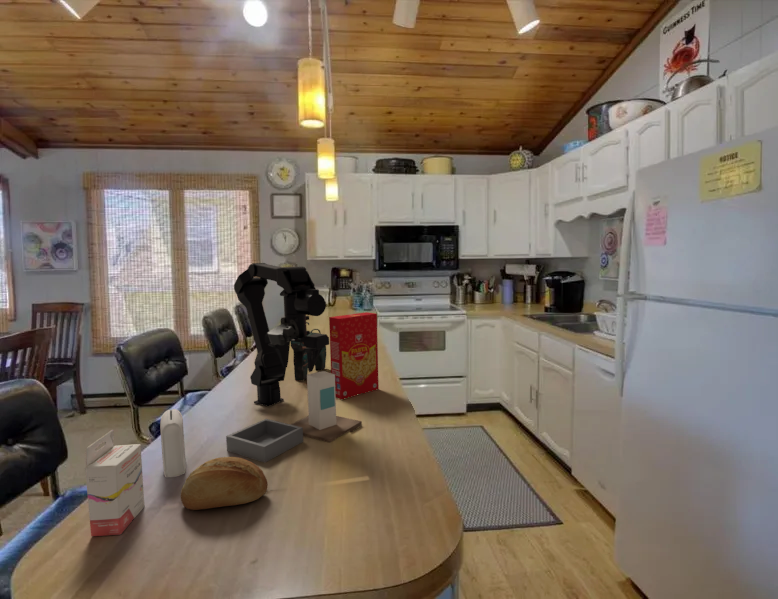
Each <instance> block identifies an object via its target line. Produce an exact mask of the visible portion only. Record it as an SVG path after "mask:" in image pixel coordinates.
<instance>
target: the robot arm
mask: <svg viewBox="0 0 778 599" xmlns="http://www.w3.org/2000/svg"><path fill="white" fill-rule="evenodd" d="M268 280H269V281H273V282H276V285H277V286H278V287H280V288H282V290H281V291H280V293H279V296H280V297H283V310H284V311H283V313H284V316H283V317H281V318H280V324H278V325H277V326H275V327H274V328H272V329H270V327H269V324H268V320H267V317H266V312H265V309H264V305H263V300H264V298H265V295H266V291H265V289H266V287H267V285H268ZM233 290H234V293H235V294H236V296H237V299H238V301H239V302H240V303H241V304H242V305H243V306H244V307H245V309H246V312H247V317H248V320H249V324H250V329H251V333H252V336H253V340H254V344H255V347H256V348H255V349H256V352H257V353H256V357H255V359H254V362H253V363H254V369H253V371H252V373H251V375H250V378H249V379H250V382H251V385H253V386H256V390H257V400H254V401H253V404H255V405H260V406H263V407H271V406H274V405H276V404H279V403H281V402H283V401H285V399H284V398H282V397H281V387H280V382H284V381H285V377H286V371H287V368H288V364H289V359H290V358H289V357H290V356H289V355H290V347H291V341H292V342H301V343H304V345H305V346H306V347H307V348H303V349H304V350H305V352H306V353H307V363H308V373H311V372H313V370H314V368H315V363H316V361H317V358H318V356H319V354H320V352H321V350H322V349H323V348H325V347H326V348H327V346H328V345H329V346H330V336H328V335H327V334H325V333H321V334H320V333H319V334H313V335H309V334H310V332H311V330H308V329H307V328H308V327H307V323H306V322H307V321H310V316H312V317H319V316H321V315H323V313H324V312H325V311H326V307H327V302H326V300H325V298H324V296H323V295H322V294H320V290H319V289H318V288H316V287H315V283H314V282H313V280H312V278H311V275H310V273H309V272H308V271H307V268H306V267H305V266H302V265H301V266H283V267H282V266H278V265H277V266H276V265H273V264H269V263H267V262H266V263H265V262H252V263H250V264H249V266H248V268H247V269H245V270H244V271H243V272H241V273H240V274H239V275H238V276H237V278H236V280H235V282H234V285H233ZM307 335H309V336H307Z"/></svg>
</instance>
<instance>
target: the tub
mask: <svg viewBox="0 0 778 599" xmlns="http://www.w3.org/2000/svg"><path fill="white" fill-rule="evenodd" d="M290 424H291V423H285V422H282V421H278V420H273V419H269V418H265V419H261V420H260V421H257V422H256V423H252V424H251V425H249V426H246V427H243V428H242V429H239V430H237V431H235V432H232V433H230V434H227V435H226V436H225V439H226V440H225V441H226V451H227V452H229V453H232V454H235V455H238V456H239V455H240V456H242V457H246V458H249V459H252V460H255V461H258V462H262V463H268V462H269V461H270V460H272V459H275V458H276V457H278V456H280V455H282V454H284V453H286V452H288V451H289V450H291V449H293V448H295V447H297V446H299V445H300V444H302V443H303V442H304V436H303V427H298V426H294V425H290Z"/></svg>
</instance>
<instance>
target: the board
mask: <svg viewBox="0 0 778 599" xmlns="http://www.w3.org/2000/svg"><path fill="white" fill-rule="evenodd" d="M289 424H290V425H294V426H298V427H303V437H307V438H311V439H315V440H319V441H323V442H327V443H331V442H333V441H335V440H337V439H338V438H340V437H341V436H344V435H345V434H347V433H348V432H350V433H352V432H354V431H356V430H357V429H359V428H361V427H362V426H363V424H362V420H357V419H352V418H349V417H343V416H339V415H336V424H337V425H334V426H331V427H327V428H324V429H321V430H319V429H317V428H315V427H313V426H311V425H309V415H307V416H305V417H303V418H301V419H299V420H297V421H294V422H292V423H289ZM358 427H359V428H358ZM353 430H354V431H353Z"/></svg>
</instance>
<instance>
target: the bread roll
mask: <svg viewBox="0 0 778 599" xmlns="http://www.w3.org/2000/svg"><path fill="white" fill-rule="evenodd" d="M267 490H268V479H267V477H266V475H265V473H264V470H262V468H261V467H259V465H257V464H255V462H252V461H250V460H248V459H245V458H243V457H238V456H224V457H223V456H222V457H221V456H220V457H216V458H212V459H209V460H207V461H206V462H203V463H202V464H200V465H199V466H198V467H196V468H195V469H194V470H192V472H190V474H188V476H187V478H186V479H185V482H184V484H183V485H182V486H181V491H180V501H181V504H182V505H183V507H184V508H186V509H188V510H191V511H198V510H208V509H214V508H221V507H229V506H237V505H239V506H240V505H245V504H248V503H251V502H254V501H257V500H259V499H261V497H262V496H264V495H265V494H266V492H267Z"/></svg>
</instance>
